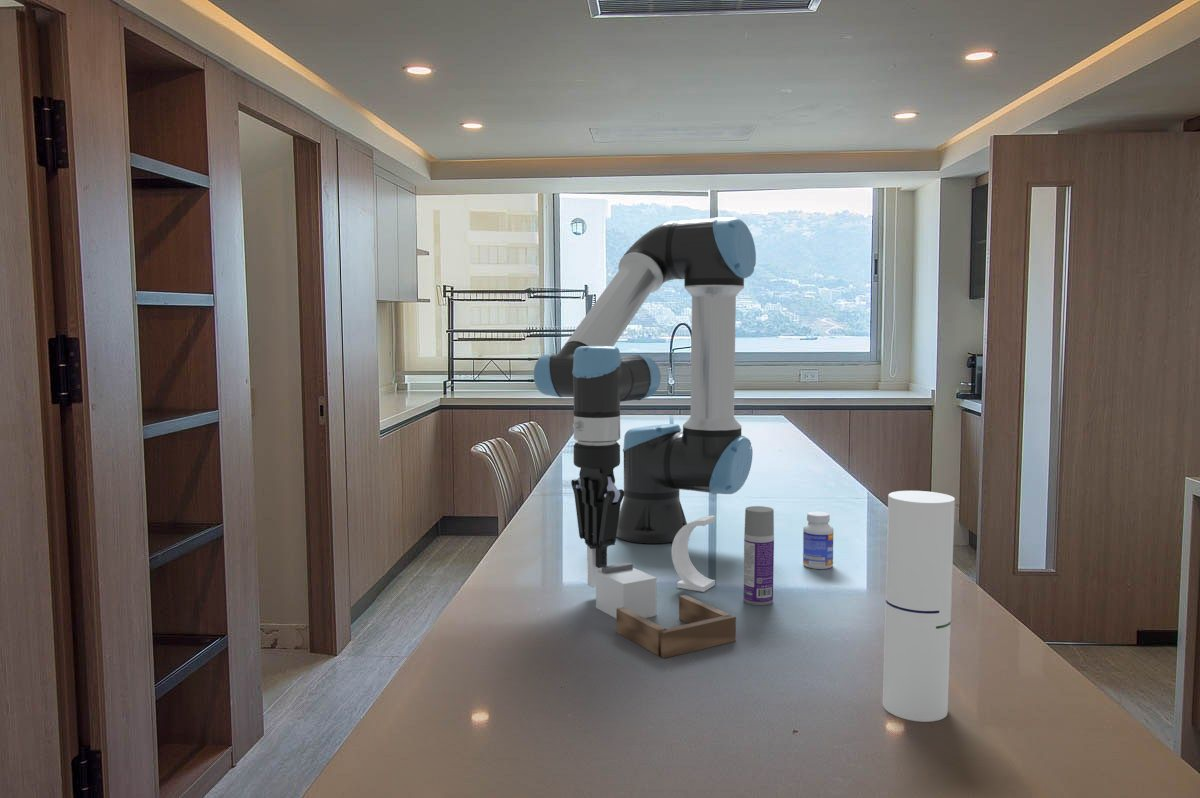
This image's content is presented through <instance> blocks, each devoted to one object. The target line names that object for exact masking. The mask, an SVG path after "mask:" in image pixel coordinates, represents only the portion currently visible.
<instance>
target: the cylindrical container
mask: <svg viewBox="0 0 1200 798" xmlns="http://www.w3.org/2000/svg"><path fill="white" fill-rule="evenodd" d="M887 497H888V498H887V500H888V501H887V529H886V530H887V531H886V533H887V536H886V564H885V565H886V566H885V568H886V570H885V606H884V607H885V609H884V611H885V612H884V613H885V614H884V639H883V640H884V643H883V645H884V648H883V678H882V679H883V682H882V683H883V684H882V688H883V689H882V707H883V708H884V710H885V711H886V712H888V713H889V714H891V715H892V716H895V717H898V718H899V719H900V718H901V719H903V720H907V721H913V722H922V723H924V722H925V723H928V722H930V723H931V722H937V721H940V720H943V719H944V718H946V717H947V716H948V709H949V708H948V707H949V682H950V681H949V678H950V677H949V676H950V654H951V653H950V651H951V650H950V649H951V628H952V627H951V623H952V622H951V621H952V589H953V564H954V563H953V561H954V559H953V558H954V533H955V532H954V531H955V504H956V503H955V502H956V498H955V497H954V496H952V495H949V494H946V493H941V492H936V491H929V490H928V491H926V490H925V491H924V490H896V491H892V492H890V493H888V495H887Z"/></svg>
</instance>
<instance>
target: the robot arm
mask: <svg viewBox="0 0 1200 798" xmlns="http://www.w3.org/2000/svg"><path fill="white" fill-rule="evenodd" d="M755 245H756V244H755V241H754V238H753V234H752V232H751V230H750V229H749V227H748V225H747V223H745V222H744V221H743V220H742V219H740V218H738V217H722V216H720V217H718V216H717V217H707V218H698V219H696V218H695V219H687V220H686V219H685V220H678V219H677V220H670V221H667V222H664V223H661V224H659V225H657V226H655V227H653V228H652V229H650V230H649V231H648V232H646V233H645V234H643V235H642V236H641V237H639V238H638V240H636V241H635V242H634V243H633V244H632V245H631V246H630V247H629V248H628V249H627V251H626V252H625V253H624V254H623V256H622V257H621V259H620V260H619V262H618V272H616V274H615V275H614V277H613V278H612V279H611V280H610V281H609V284H608V285H607V287H606V288H605V289H604V290H603V292H602V293H601V294H600V296H599V297H598V298H597V300H596V301H595V303H594V304H593V306H592V307H591V308H590V309H589V310H588V312H587V314H586V315H585V316H584V317H583V319H582V320H581V322H580V323H579V324H578V326H577V327H576V328H575V330H574V331H573V332H572V334H571V335H570V337H569V338H568V339H567V341H566V342H565V343H564V345H563V346H562V348H561V349H560V351H559V352H558V353H554V352H552V353H548V354H544V355H542V356H539V358H538V359H537V360H536V362H535V363H534V368H533V380H534V384H535V386H536V388H537V390H538V392H539V393H541V394H543V395H545V396H551V397H558V398H573V424H572V428H573V440H575V441H577V442H575V443H574V445H573V465H574V466H575V467H577V468H579V477H577V478H574V479H571V482H570V483H571V487H572V490H573V493H574V502H575V503H574V504H575V513H576V518H577V519H576V521H577V528H578V537H579V538H580V539H581V540H583V539H584V543H585V545H586V548H587V550H586V551H587V552H586V553H587V555H586V556H587V559H586V560H587V586H588V587H590V588H596V571H600V570H602V567H605V566H608V565H607V564H608V547H610V546H615V545H616V541H617V538H618V539H620V540H623V541H626V542H632V543H638V544H665V543H666V544H668V543H673V540H674V538H675V536H676V534H677V532H678V531H679V530H680V529H681V528H682V527H683V526H685V525H686V524H688V523H687V520H686V516H685V512H684V510H683V507H682V504H681V503H682V502H681V500H680V490H683V491H693V492H699V493H700V492H702V493H709V494H712V495H732V494H735V493H737V492H738V491H739V490H741V489H742V487H743V486H744V484H745V482H747V481H746V480H748V476H749V473H750V471H751V467H752V462H753V446H752V442H751V440H750V439H749V438H748V437H746V436H744V435H742V425H741V424H740V423H739V422H738V421H737V419H736V418H735V381H736V380H735V379H736V378H735V372H736V371H735V370H736V368H735V367H736V308H737V307H736V306H737V298H736V297H737V295H738V294H739V293H740V292H741V291H742V290H743V289H744V287H745V284H744V283H745V279H748V277H751V276H752V275H753V273H754V271H755V267H756V263H757V252H756V246H755ZM673 280H684V284H683V288H684V289H685V290H686V291H687V292H688V294H690V296H691V342H690V343H691V346H690V347H691V348H690V349H691V354H690V355H691V358H690V361H691V362H690V416H689V418H688V419H687V420H686V422H684V423H683V424H682V429H681V427H680V425H679V424H678V423H668V424H667V423H666V424H656V425H655V424H654V425H647V426H646V425H645V426H641V427H634V428H630V429H629V430H627V431H626V432H625V433H624V439H623V449H622V452H623V489H621V488H620V489H618V488H617V485H615V484H616V478H615V477H616V476H615V473H614V469H615V468H618V467H619V466H620V464H621V444H620V443H619V442H618V441H619V440H620V439H621V402H627V401H630V402H631V401H642V400H644V399H646V398H649V397H652V396H653V395H654V394H655V393H656V392H657V391H658V389H659V388H660V385H661V381H662V380H661V378H662V375H661V371H660V368H659V366H658V364H657V362H656V361H655V360H654V359H652V357H649V356H646V355H640V354H638V355H636V354H633V355H620V354H621V353H620V349H619V348H618V347H617V346H615V345H616V343H617V342H618V340H619V339H620V337H621V336H622V335H623V333H624V332H625V330H626V329H627V327H628V326H629V324H630V323H631V322H632V320H633V318H634V317H635V316H636V314H637V313H638V311H639V310H640V309H641V307H642V306H643V304H644V303H645V301H646V300H647V298H648V297H649V296H650V295H651V293H654V292H657V291H659V289H660V288H662V285H663V284H665V283H666V282H669V281H673ZM681 431H682V432H681Z"/></svg>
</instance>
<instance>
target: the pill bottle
mask: <svg viewBox="0 0 1200 798" xmlns="http://www.w3.org/2000/svg"><path fill="white" fill-rule="evenodd" d="M806 520H807V523H806V524H805V525H804V526H803V528H802V529H803V530H802V531H803V533H802V535H803V536H802V539H803V541H802V542H803V543H802V544H803V545H802V547H803V548H802V549H803V550H802V565H803V566H804V567H807V568H810V569H813V570H814V569H815V570H827V569H830V568H832V567H833V566H834V528H833V526H832V525H831V524H829V523H830V520H831V519H830V513H828V512H825V511H809V512H807V514H806Z"/></svg>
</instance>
